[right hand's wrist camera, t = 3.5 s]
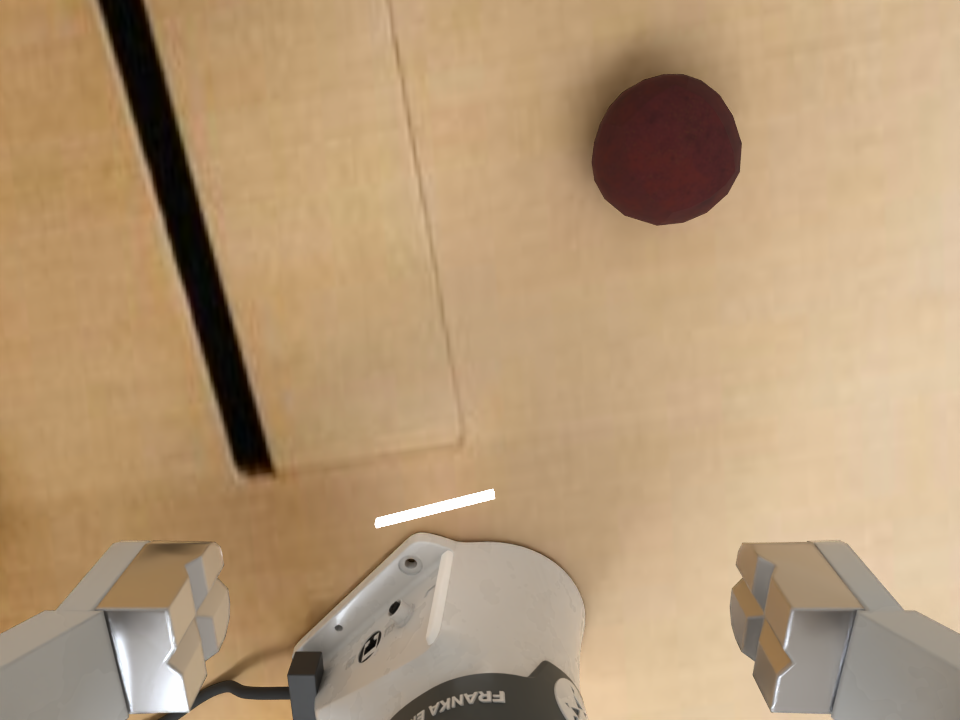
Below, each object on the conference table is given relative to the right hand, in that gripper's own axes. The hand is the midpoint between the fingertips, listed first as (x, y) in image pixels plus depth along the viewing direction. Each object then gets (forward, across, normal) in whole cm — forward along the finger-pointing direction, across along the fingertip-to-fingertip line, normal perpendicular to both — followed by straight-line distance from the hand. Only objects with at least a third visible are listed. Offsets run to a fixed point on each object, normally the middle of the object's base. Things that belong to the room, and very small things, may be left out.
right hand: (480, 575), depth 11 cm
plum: (+32, -10, -5) cm, 33 cm away
